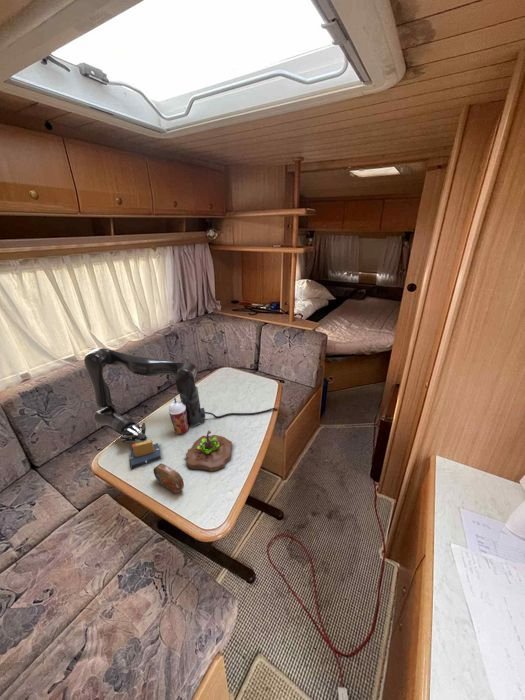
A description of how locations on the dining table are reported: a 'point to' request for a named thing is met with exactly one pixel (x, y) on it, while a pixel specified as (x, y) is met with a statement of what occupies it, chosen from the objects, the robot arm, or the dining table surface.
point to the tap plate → (145, 457)
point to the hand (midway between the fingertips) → (145, 438)
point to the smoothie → (178, 416)
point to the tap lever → (143, 448)
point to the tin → (168, 478)
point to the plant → (209, 453)
